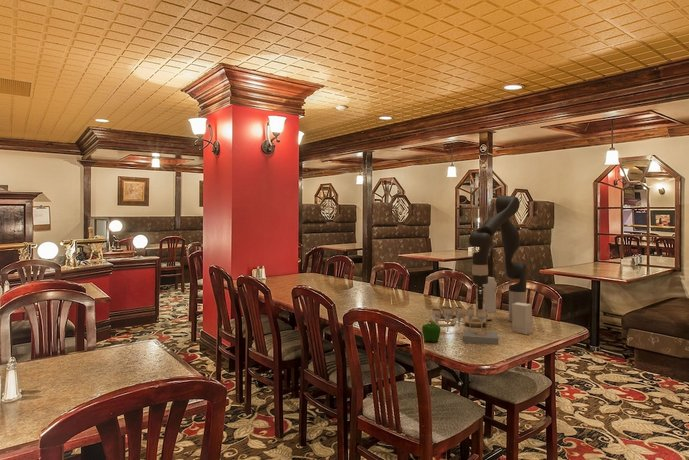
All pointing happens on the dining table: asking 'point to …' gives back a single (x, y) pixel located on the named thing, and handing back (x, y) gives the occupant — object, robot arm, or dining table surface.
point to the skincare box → (522, 318)
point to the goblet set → (459, 316)
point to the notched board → (480, 337)
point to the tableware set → (474, 322)
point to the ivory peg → (483, 304)
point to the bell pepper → (431, 332)
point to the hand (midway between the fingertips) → (480, 308)
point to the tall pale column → (490, 295)
